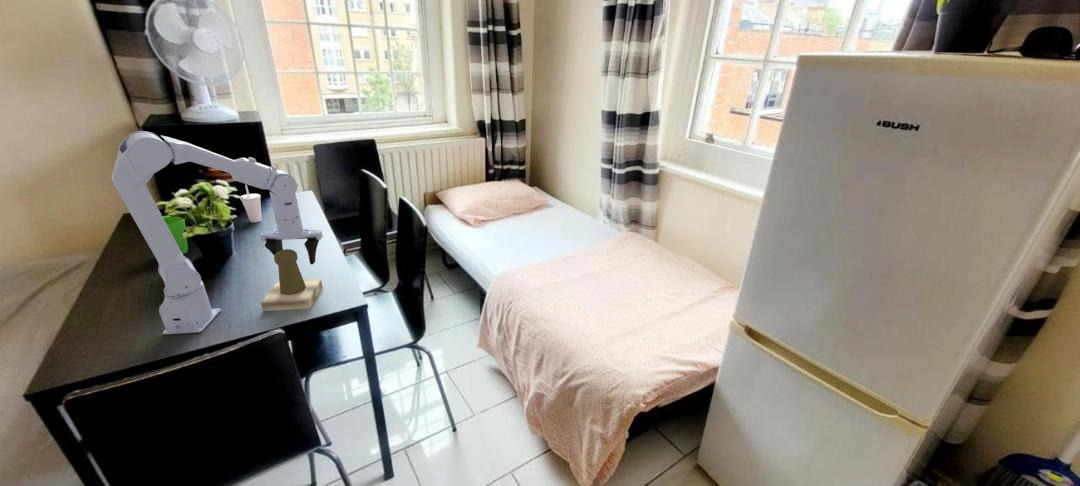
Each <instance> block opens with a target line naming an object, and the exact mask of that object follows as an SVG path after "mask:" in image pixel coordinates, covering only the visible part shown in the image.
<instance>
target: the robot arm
mask: <svg viewBox="0 0 1080 486" xmlns="http://www.w3.org/2000/svg"><path fill="white" fill-rule="evenodd" d="M162 139H164V140H162ZM171 162H172V163H173V164H174V165H180V164H184V163H188V162H191V163H195V164H197V165H201V166H204V167H209V168H211V169H216V170H218V171H222V172H225V173H228V174H230V176H231V177H232V179H233V180H234V181H236V182H239V183H242V184H245V185H247V186H252V187H254V188H258V189H261V190H268V191H269V195H270V200H271V206H272V211H273V214H274V221H275V223H276V230H275V229H274V230H269V231H267V230H266V231H262V232H261V233H260V234H259V237H260V241H261V242H265V244H264V246H265V248H266V249H267V250H268V251H269V252H270V253H271V254H272V255H273V257H274V256H275V254H276V253H277V252H278V251H281V250H284V247H283V240H285V241H287V240H305V241H304V247H305V249H306V252H307V255H308V260H309V265H314V264H315V263H316V256H317V255H316V254H317V248H318V245H319V242H320V241H321V240H322V238H324V236H323V230H321V229H318V230H317V229H311V228H310V229H308V228H304V226H303V222H302V217H301V212H300V207H299V204H298V198H297V195H296V194H297V193H296V192H297V190H298V182H297V181H296V179H295V178H294V177H293V176H292V175H291V174H289V173H287V172H285V171H284V170H282V169H280V168H278V167H277V166H273V165H271V166H269V165H265V164H262V163H260V162H257V159H256V158H253V157H250V156H249V157H248V158H246V157H239V158H237V159H232V158H229V157H226V156H225V155H221V154H218V153H216V152H213V151H210V150H209V149H205V148H203V147H200V146H197V145H194V144H192V143H190V142H187V141H183V140H179V139H176V138H172V137H170V136H166V135H165V136H164V135H160V136H158V135H157V134H155V133H154V132H150V131H146V130H145V131H144V130H139V131H134V132H132V133H130V134H129V135H127V136H126V137H125V139H123V141H122V142H120V143H119V145H118V151H117V155H116V159H115V163H114V167H113V169H112V173H111V181H112V183H113V185H114V187H115V188H116V191H117V193H118V194H119V196H120V198H121V200H122V201H123V204H124V205H125V207H126V208H127V211H129V213H130V216H131V217H132V218H133V221H134V222H135V224H136V226H137V227H138V229H139V231H140V233H141V235H142V237H143V238H144V240H145V242H146V243H147V245H148V247H149V248H150V250H151V252H152V254H153V256H154V257H155V259H156V261H157V263H158V269H157V271H158V274H159V276H160V277H161V278H162V280H163V282H164V288H163V293H164V300H163V302H162V303H161V304H160V305H159V307H158V312H159V315H160V318H161V321H162V324H163V326H164V328H165V329H164V330H163V332H162V334H163V335H174V334H175V335H178V334H191V333H201V332H203V331H204V330H205V329H206V327H208V326H209V324H210V323H211V322H212V321H213V320H214V319H215V318H216V316H218V315H219V313H220V312H221V311H222V309H221V308H212V306H211V304H210V299H209V296H208V294H207V293H208V292H207V291H206V288H205V285H204V282H203V280H202V277H201V275H200V273H199V272H198V271H197V269H196V268H195V267H194V264H193V262H192V261H191V260H190V259H189V258H187V256H184V254H182V252H181V251H180V249H179V247H178V245H177V243H176V241H175V239H174V238H173V236H172V234H171V232H170V230H169V228H168V226H167V224H166V223H165V221H164V219H163V215H162V213H161V212H160V210H159V207H158V206H157V204H156V202H155V200H154V198H153V196H152V194H151V193H150V191H149V189H148V186H147V184H148V183H149V182H150V180H151V178H152V177H153V176H154V174H155V173H157V172H159V171H160V170H162V169H164V168H166V167H167V166H168V165H169V164H170V163H171Z"/></svg>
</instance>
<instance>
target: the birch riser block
mask: <svg viewBox="0 0 1080 486" xmlns="http://www.w3.org/2000/svg"><path fill="white" fill-rule="evenodd" d="M303 280H304V283H305V285H306V288H305V289H304V290H303V291H302V292H300V293H297V294H292V295H284V294H281V293H280V283H279V280H278V281H277V282H276V283H275V284H274V286H273V287H272V288H271V289H270V290H269V292H268V293H267V294H266V296H264V297H263V299H262V301H261V302H260V306H261V308H262V311H263V312H273V311H274V312H275V311H276V312H277V311H278V312H279V311H293V310H311V308H312V306H313V305H314V303H315V301H316V299H317V298H318V296H319V295H320V292H321V291H322V289H323V283H322V279H320V278H319V279H303Z"/></svg>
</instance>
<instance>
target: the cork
mask: <svg viewBox="0 0 1080 486" xmlns="http://www.w3.org/2000/svg"><path fill="white" fill-rule="evenodd" d="M298 257H299V256H298V254H297V251H295V250H294V249H290V248H289V249H288V248H287V249H283V250H281V251H278V252H277V253H276V254H275V256H274V255H273V260H274V263H275V264H276V265H277V268H278V281H279V283H280V293H281V294H284V295H292V294H297V293H300V292H302V291H303V290H304V289H305V288H306V285H305V283H304V280H305V279H304V278H303V276H302V272H301V271H300V268H299V265H298V263H297V261H298Z"/></svg>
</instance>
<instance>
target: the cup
mask: <svg viewBox="0 0 1080 486" xmlns="http://www.w3.org/2000/svg"><path fill="white" fill-rule="evenodd" d="M162 217H163V219H164V221H165V223H166V224H167V226H168V228H169V230H170V232H171V234H172V236H173V238H174V239H175V241H176V243H177V245H178V247H179V249H180V251H181V252H182V254H183V255H184V254H186V253H188V249H189V248H188V240H187V239H188V238H187V239H184V238H183V237H182V233H183V232H184V230H185V228H186V222H185V220H186V219H176V218H174V217H171V216H170V215H162Z"/></svg>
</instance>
